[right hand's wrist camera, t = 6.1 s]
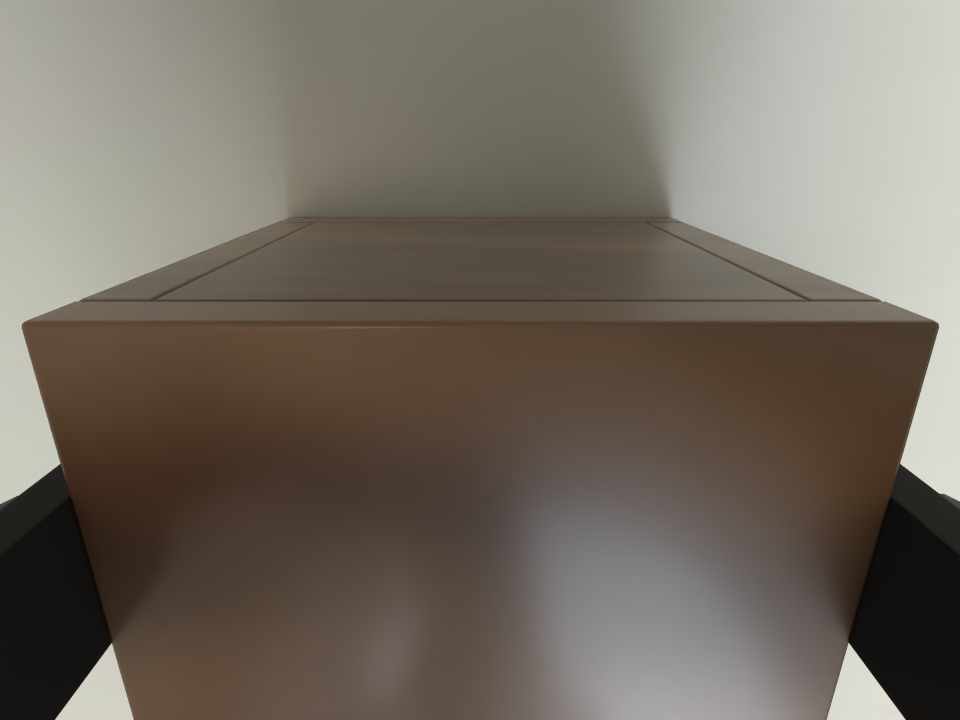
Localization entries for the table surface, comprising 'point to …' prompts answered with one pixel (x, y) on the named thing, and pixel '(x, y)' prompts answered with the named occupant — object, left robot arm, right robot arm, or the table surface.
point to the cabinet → (480, 470)
